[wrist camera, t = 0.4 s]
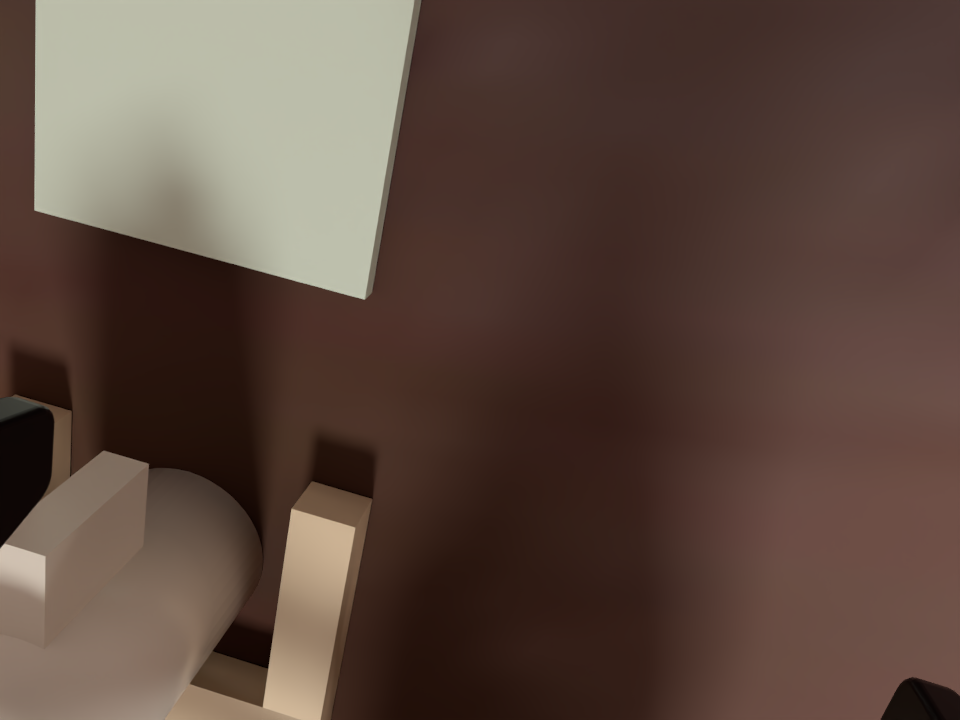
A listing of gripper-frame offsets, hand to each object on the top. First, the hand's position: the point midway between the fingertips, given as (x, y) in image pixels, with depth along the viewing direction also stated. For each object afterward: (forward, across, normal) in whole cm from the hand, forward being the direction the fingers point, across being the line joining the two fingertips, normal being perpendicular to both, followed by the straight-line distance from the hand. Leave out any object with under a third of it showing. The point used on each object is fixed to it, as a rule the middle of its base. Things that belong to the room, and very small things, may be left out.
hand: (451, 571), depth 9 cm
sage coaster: (+13, +9, -2) cm, 16 cm away
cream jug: (+14, +9, +11) cm, 20 cm away
